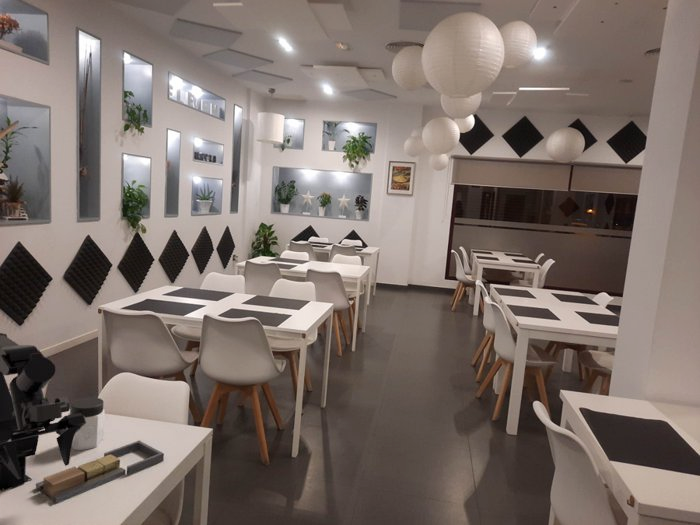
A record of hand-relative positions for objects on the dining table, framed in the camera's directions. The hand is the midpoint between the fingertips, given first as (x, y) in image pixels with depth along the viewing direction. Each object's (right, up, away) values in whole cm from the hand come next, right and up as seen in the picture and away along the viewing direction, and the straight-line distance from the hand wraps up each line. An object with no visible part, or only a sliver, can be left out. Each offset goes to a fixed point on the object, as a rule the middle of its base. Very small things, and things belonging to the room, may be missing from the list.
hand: (44, 471), depth 104 cm
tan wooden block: (+3, -9, +21) cm, 23 cm away
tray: (+7, -9, +27) cm, 29 cm away
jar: (-10, -7, +35) cm, 37 cm away
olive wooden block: (+1, -9, +17) cm, 20 cm away
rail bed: (-1, -10, +16) cm, 18 cm away
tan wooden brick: (-3, -9, +12) cm, 15 cm away
